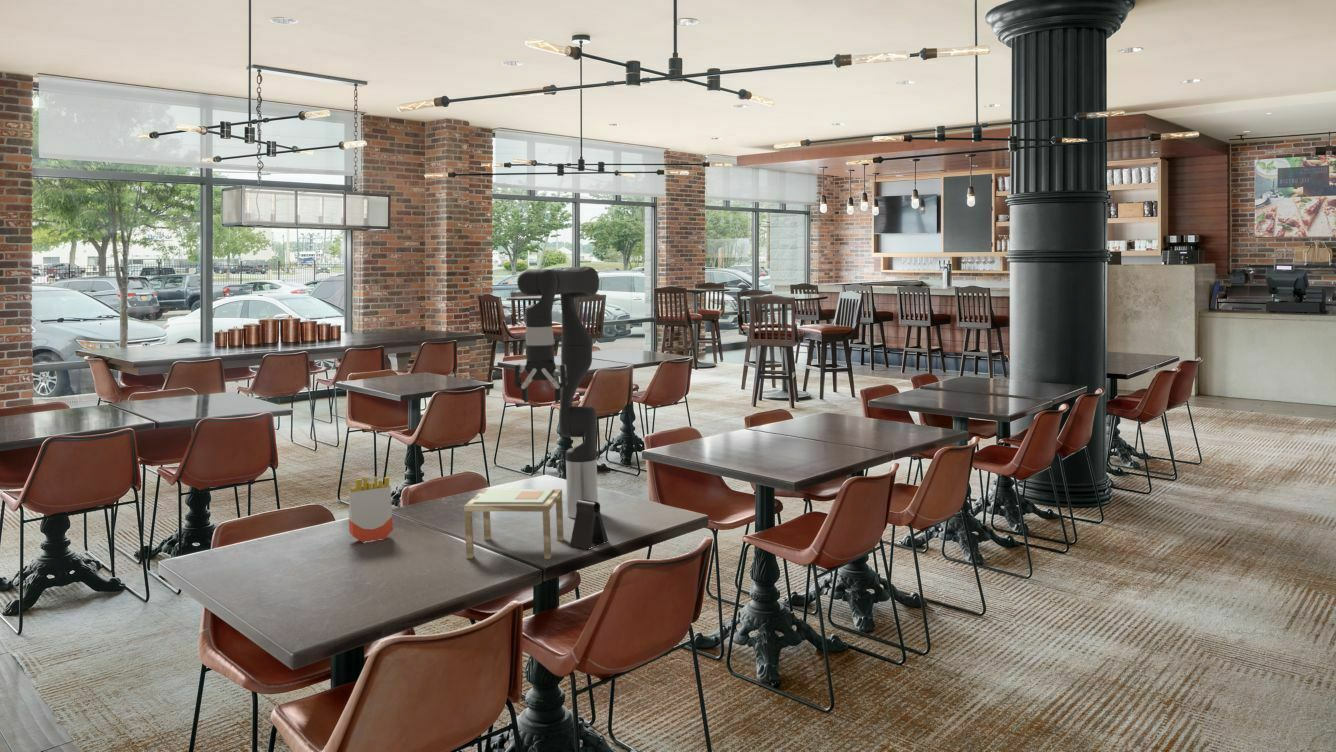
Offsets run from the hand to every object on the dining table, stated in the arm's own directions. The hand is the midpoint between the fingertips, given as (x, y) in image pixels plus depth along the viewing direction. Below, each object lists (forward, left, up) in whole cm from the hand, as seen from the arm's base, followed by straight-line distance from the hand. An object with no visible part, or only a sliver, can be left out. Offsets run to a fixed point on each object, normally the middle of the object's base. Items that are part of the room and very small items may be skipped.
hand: (541, 402), depth 258 cm
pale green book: (+10, -6, -25) cm, 28 cm away
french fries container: (+3, -49, -38) cm, 62 cm away
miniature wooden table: (+10, -6, -38) cm, 40 cm away
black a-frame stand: (+6, +13, -38) cm, 41 cm away
